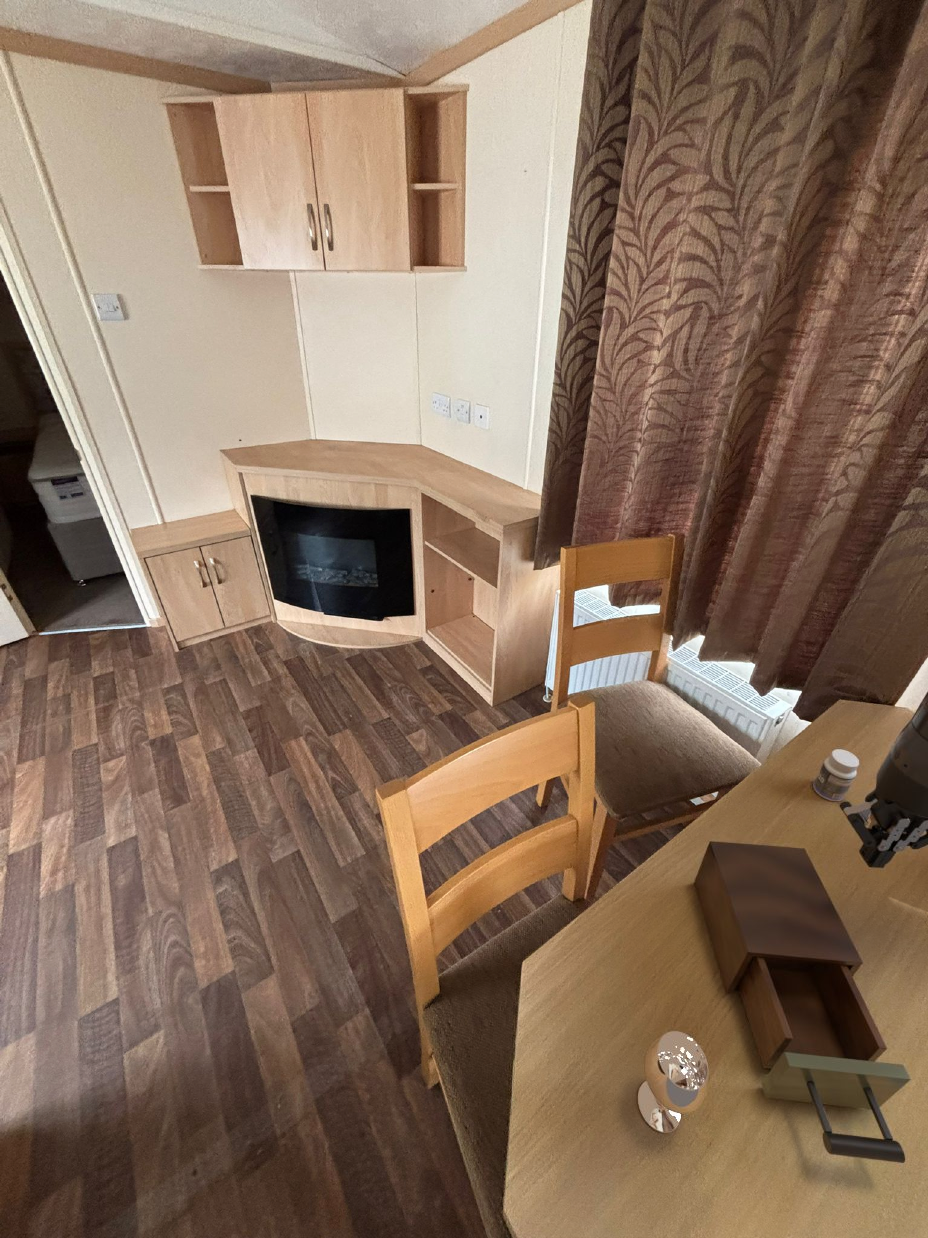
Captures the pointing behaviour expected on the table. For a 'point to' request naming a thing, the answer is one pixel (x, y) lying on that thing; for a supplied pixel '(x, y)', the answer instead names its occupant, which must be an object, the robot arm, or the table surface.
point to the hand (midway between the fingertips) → (871, 861)
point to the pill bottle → (836, 775)
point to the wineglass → (672, 1081)
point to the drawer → (821, 1046)
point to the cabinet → (768, 909)
